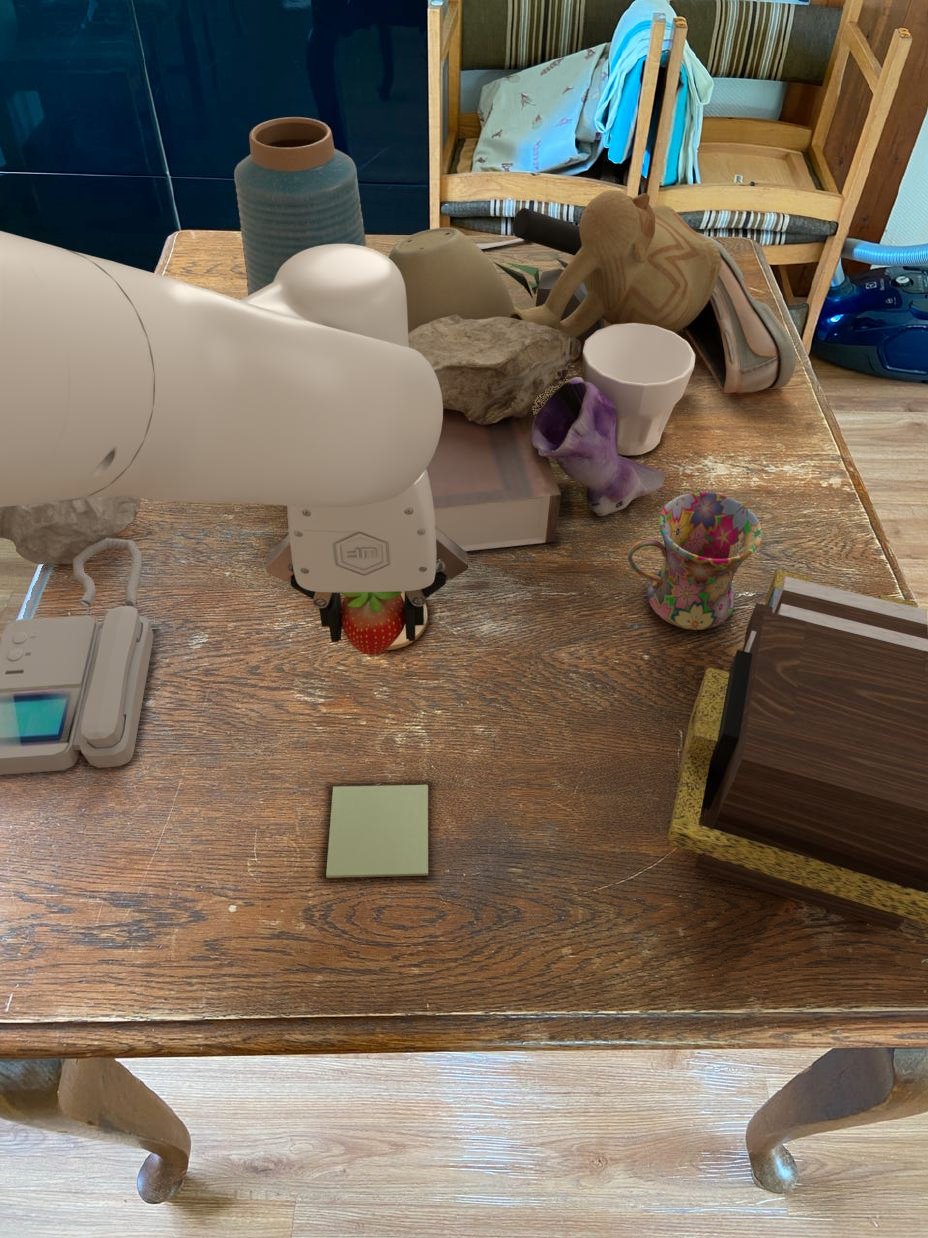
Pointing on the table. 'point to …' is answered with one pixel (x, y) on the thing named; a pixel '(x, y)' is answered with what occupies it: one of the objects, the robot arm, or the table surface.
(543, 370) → the rock
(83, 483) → the robot arm
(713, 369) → the loafer
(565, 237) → the flashlight
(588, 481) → the figurine
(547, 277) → the succulent plant
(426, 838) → the napkin
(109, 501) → the stone
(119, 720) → the intercom
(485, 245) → the knife
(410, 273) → the flower pot
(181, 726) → the table surface
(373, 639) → the fruit
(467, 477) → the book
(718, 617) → the mug
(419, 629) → the coaster
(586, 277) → the ceramic vessel
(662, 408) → the cup
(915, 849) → the brown wooden box
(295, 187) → the vase
